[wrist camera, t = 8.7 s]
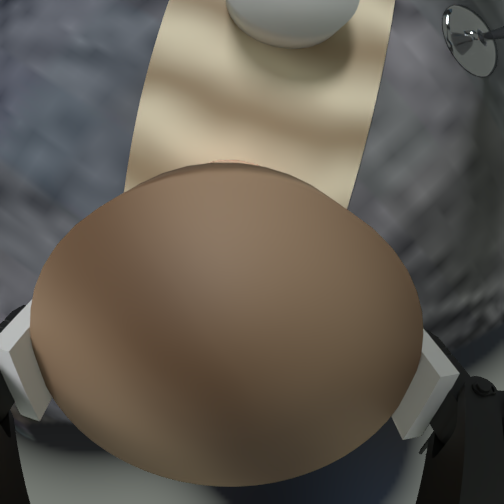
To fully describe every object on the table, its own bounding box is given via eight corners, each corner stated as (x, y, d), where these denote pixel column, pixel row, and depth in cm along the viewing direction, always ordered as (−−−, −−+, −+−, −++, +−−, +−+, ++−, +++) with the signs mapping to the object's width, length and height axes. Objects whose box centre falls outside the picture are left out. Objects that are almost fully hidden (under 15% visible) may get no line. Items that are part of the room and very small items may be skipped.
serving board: (202, -65, 14) (200, -75, 13) (389, -16, 16) (398, -22, 15) (122, 273, 24) (116, 281, 22) (306, 308, 26) (309, 318, 24)
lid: (318, 101, 8) (358, 87, 5) (401, 372, 12) (430, 421, 9) (22, 259, 9) (-27, 298, 6) (176, 449, 13) (170, 500, 10)
